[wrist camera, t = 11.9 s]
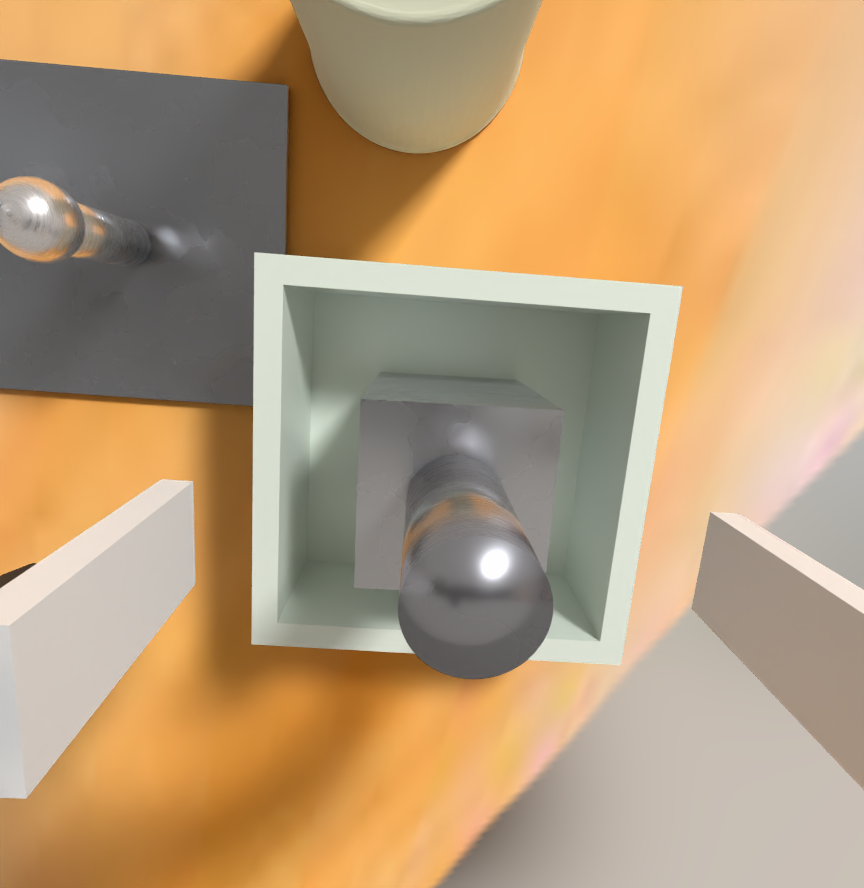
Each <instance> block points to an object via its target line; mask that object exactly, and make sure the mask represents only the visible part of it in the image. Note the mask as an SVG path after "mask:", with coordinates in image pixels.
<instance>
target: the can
mask: <svg viewBox="0 0 864 888" xmlns="http://www.w3.org/2000/svg"><path fill="white" fill-rule="evenodd" d="M290 1H291V3H292V6H293V8H294V11H295V13H296V16H297V18H298V20H299V23H300V25H301V28H302V30H303V32H304V35H305V37H306V40H307V42H308V44H309V47H310V52H311V58H312V62H313V65H314V69H315V72H316V75H317V78H318V80H319V82H320V85H321V87H322V89H323V91H324V93H325V95H326V97H327V98H328V100H329V102H330V103H331V105H332V106H333V107H334V109H335V110H336V111H337V113H338V114H339V115H340V116H341V118H342V119H343V120H344V121H345V122H346V123H347V124H348V125H349V126H350V127H352V128H353V129H354V130H355V131H357V132H358V133H359V134H360V135H362V136H363V137H365V138H367V139H368V140H370V141H372V142H374V143H376V144H378V145H380V146H382V147H385V148H388V149H391V150H395V151H399V152H405V153H415V154H418V153H432V152H438V151H442V150H446V149H449V148H452V147H454V146H457V145H459V144H461V143H463V142H465V141H467V140H468V139H470V138H472V137H473V136H475V135H476V134H477V133H479V132H480V131H481V130H482V129H484V128H485V127H486V126H487V125H488V124H489V123H490V122H491V121H492V120H493V119H494V118H495V116H496V115H497V114H498V113H499V111H500V110H501V109H502V107H503V106H504V104H505V103H506V101H507V99H508V98H509V96H510V94H511V92H512V90H513V88H514V86H515V83H516V80H517V78H518V75H519V72H520V68H521V64H522V60H523V54H524V49H525V45H526V43H527V40H528V37H529V35H530V32H531V29H532V27H533V24H534V21H535V19H536V16H537V14H538V11H539V8H540V6H541V3H542V1H543V0H290Z"/></svg>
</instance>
